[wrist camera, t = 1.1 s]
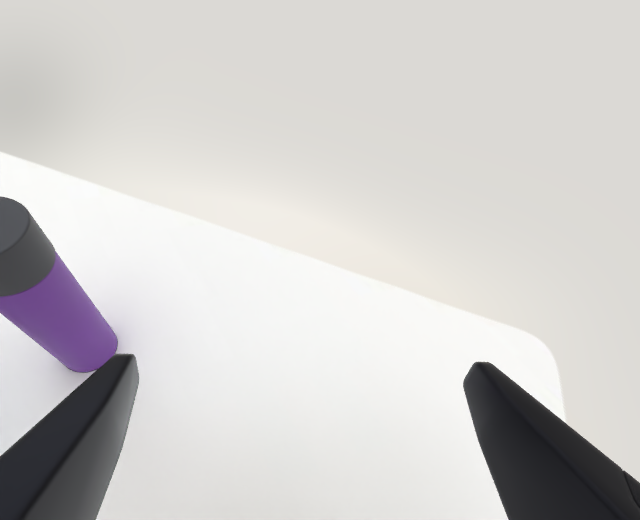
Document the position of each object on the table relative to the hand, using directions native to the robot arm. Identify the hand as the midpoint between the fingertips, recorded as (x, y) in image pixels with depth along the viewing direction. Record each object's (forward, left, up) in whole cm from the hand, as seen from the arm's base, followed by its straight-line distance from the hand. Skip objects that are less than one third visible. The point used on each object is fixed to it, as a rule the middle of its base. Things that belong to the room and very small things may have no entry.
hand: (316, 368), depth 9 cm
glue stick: (+2, +13, -16) cm, 21 cm away
